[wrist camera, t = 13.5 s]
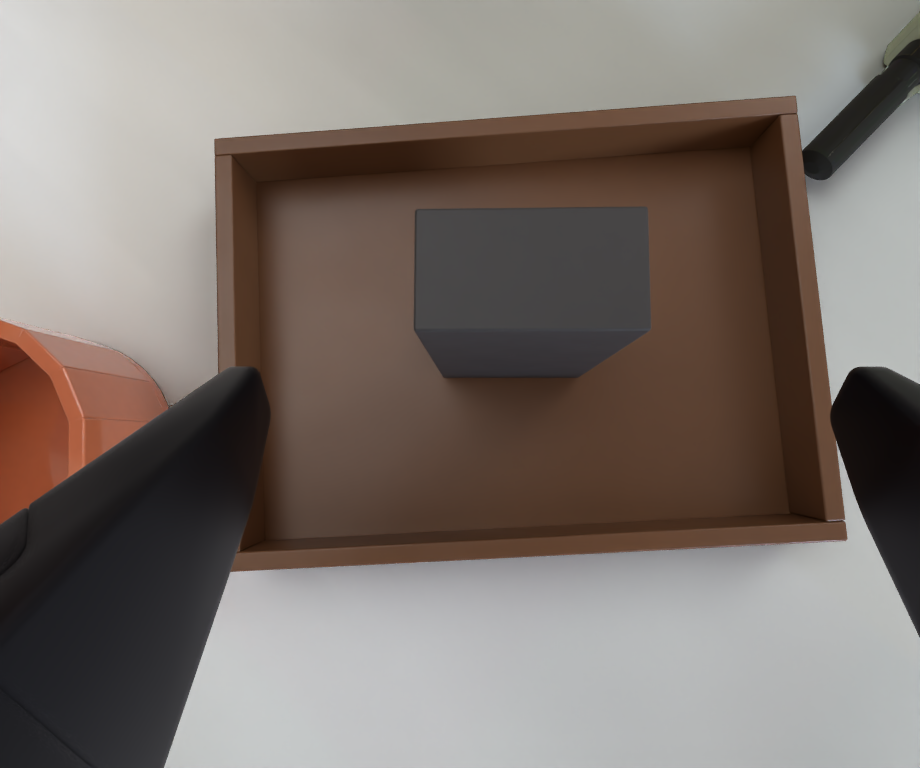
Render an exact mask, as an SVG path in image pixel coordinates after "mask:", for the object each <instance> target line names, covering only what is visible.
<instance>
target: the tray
mask: <svg viewBox="0 0 920 768" xmlns="http://www.w3.org/2000/svg"><path fill="white" fill-rule="evenodd" d="M215 199H216V258H217V318H218V374H219V373H221V372H222V371H224V370H225V369H227V368H228V367H234V366H252V367H255V368H256V369H258V371H259V373H260V375H261V378H262V381H263V385H264V388H265V391H266V395H267V398H268V401H269V404H270V410H271V420H270V425H269V430H268V435H267V440H266V444H265V449H264V454H263V459H262V464H261V469H260V473H259V478H258V483H257V488H256V492H255V497H254V501H253V505H252V508H251V511H250V514H249V518H248V521H247V524H246V527H245V530H244V533H243V535H242V538H241V541H240V544H239V547H238V550H237V553H236V556H235V559H234V562H233V565H232V568H231V571H230V572H235V571H255V570H275V569H295V568H315V567H335V566H355V565H375V564H395V563H415V562H435V561H455V560H475V559H495V558H515V557H535V556H555V555H575V554H595V553H615V552H635V551H655V550H675V549H695V548H715V547H735V546H755V545H775V544H795V543H815V542H835V541H846V540H847V531H846V523H845V522H844V521H843V520H845V514H844V506H843V497H842V489H841V480H840V472H839V463H838V455H837V446H836V438H835V435H834V432H833V429H832V426H831V422H830V412H831V408H832V404H831V395H830V386H829V378H828V369H827V361H826V352H825V344H824V335H823V327H822V318H821V310H820V301H819V293H818V284H817V276H816V267H815V259H814V250H813V241H812V233H811V224H810V216H809V207H808V199H807V190H806V182H805V173H804V165H803V156H802V148H801V139H800V131H799V122H798V115H797V103H796V96H786V97H772V98H759V99H745V100H732V101H718V102H705V103H691V104H678V105H664V106H651V107H638V108H624V109H611V110H597V111H584V112H570V113H557V114H543V115H530V116H516V117H503V118H490V119H476V120H463V121H449V122H436V123H422V124H409V125H395V126H382V127H368V128H355V129H341V130H328V131H315V132H301V133H288V134H274V135H261V136H247V137H234V138H220V139H215ZM640 206H645V207H647V208H648V225H649V263H650V300H651V330H650V331H649V332H647V333H646V334H644V335H643V336H641V337H639V338H638V339H636V340H635V341H633V342H632V343H630V344H629V345H627V346H626V347H624V348H623V349H621V350H620V351H618V352H617V353H615V354H614V355H612V356H610V357H609V358H607V359H606V360H604V361H603V362H601V363H600V364H598V365H597V366H595V367H594V368H592V369H591V370H589V371H588V372H586V373H584V374H583V375H581V376H580V377H578V378H444V377H443V376H442V374H441V373H440V371H439V369H438V368H437V366H436V365H435V363H434V361H433V360H432V358H431V357H430V355H429V353H428V352H427V350H426V349H425V347H424V345H423V344H422V342H421V341H420V339H419V337H418V336H417V334H416V333H415V331H414V249H415V211H416V209H457V208H549V207H640Z"/></svg>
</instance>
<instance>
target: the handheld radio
mask: <svg viewBox="0 0 920 768" xmlns="http://www.w3.org/2000/svg"><path fill="white" fill-rule="evenodd" d="M883 61H884V64H885V65H886V66H887V67H886V68H885V70H884V71H883V72H882V74H881V75H878V76H876V77H875V78H874V79H873V80H872V81H871V82H870V83H869V84H868V85H867V86H866V87H865V88H864V89H863V90H862V91H861V92H860V93H859V94H858V95H857V96H856V97H855V98H854V99H853V100H852V101H851V102H850V103H849V104H848V105H847V106H846V107H845V108H844V109H843V110H842V111H841V112H840V113H839V114H838V115H837V116H836V117H835V118H834V119H833V120H832V121H831V122H830V123H829V124H828V125H827V126H826V127H825V129H824V130H823V131H822V132H821V133H820V134H819V135H818V136H817V137H816V138H815V139H814V140H813V141H812V142H811V143H810V144H809V145H808V146H807V147H806V148H805V149H804V150H803V151H802V156H803V165H804V173H805V174H806V175H807V176H809V177H810V178H813V179H816V180H825V179H827V178H829V177H830V176H831V175H832V174H833V173H834V172H835V171H836V170H837V169H838V168H839V167H840V166H841V165H842V164H843V163H844V162H845V161H846V160H847V159H848V158H849V157H850V156H851V155H852V154H853V153H854V151H855V150H856V149H857V148H858V147H859V146H860V145H861V144H862V143H863V142H864V141H865V140H866V139H867V138H868V137H869V136H870V135H871V134H872V133H873V132H874V131H875V130H876V129H877V128H878V127H879V126H880V125H881V124H882V123H883V122H884V121H885V120H886V119H887V118H888V117H889V116H890V115H891V114H892V113H893V112H894V111H895V110H896V109H897V108H898V107H899V106H900V105H902V104H903V103H904V102H905V101H907V100H908V99H909V98H910V97H912V96H913V95H914V94H916V93H918V94H919V93H920V12H919V13H918V14H917V15H916V16H915V17H914V18H913V19H912V20H911V21H910V22H909V24H908V25H907V26H906V27H905V28H904V29H903V30H902V31H901V32H900V33H899V34H898V35H897V36H896V37H895V38H894V39H893V41H892V42H891V43H890V44H889V45H888V46H887V49H886V53H885V56H884V60H883Z"/></svg>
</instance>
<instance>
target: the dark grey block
mask: <svg viewBox="0 0 920 768" xmlns="http://www.w3.org/2000/svg"><path fill="white" fill-rule="evenodd" d="M650 330H651V300H650V263H649V225H648V208H647V207H645V206H640V207H549V208H457V209H416V211H415V249H414V331H415V333H416V334H417V336H418V337H419V339H420V341H421V342H422V344H423V345H424V347H425V349H426V350H427V352H428V353H429V355H430V357H431V358H432V360H433V361H434V363H435V365H436V366H437V368H438V369H439V371H440V373H441V374H442V376H443V377H444V378H578V377H580V376H581V375H583V374H584V373H586V372H588V371H589V370H591V369H592V368H594V367H595V366H597V365H598V364H600V363H601V362H603V361H604V360H606V359H607V358H609V357H610V356H612V355H614V354H615V353H617V352H618V351H620V350H621V349H623V348H624V347H626V346H627V345H629V344H630V343H632V342H633V341H635V340H636V339H638V338H639V337H641V336H643V335H644V334H646V333H647V332H649V331H650Z"/></svg>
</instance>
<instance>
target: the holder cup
mask: <svg viewBox="0 0 920 768" xmlns="http://www.w3.org/2000/svg"><path fill="white" fill-rule="evenodd" d="M167 409H169V408H168V405H167V402H166V400H165V398H164V396H163V394H162V392H161V390H160V389H159V387H158V386H157V385H156V383H155V382H154V380H153V379H152V378H151V377H150V375H149V374H148V373H147V372H146V371H145V370H144V369H143V368H142V367H141V366H140V365H138V364H137V363H136V362H135V361H133V360H132V359H131V358H129V357H127V356H126V355H124V354H122V353H121V352H119V351H116V350H114V349H112V348H110V347H107V346H104V345H100V344H96V343H93V342H91V341H88V340H85V339H82V338H79V337H75V336H71V335H67V334H63V333H59V332H55V331H51V330H47V329H43V328H40V327H36V326H32V325H28V324H24V323H20V322H16V321H12V320H8V319H4V318H0V524H1V523H3V522H4V521H6V520H7V519H9V518H10V517H12V516H13V515H15V514H16V513H17V512H19V511H20V510H22V509H24V508H27V509H29V505H30V504H31V503H32V502H34V501H35V500H36V499H38V498H39V497H41V496H42V495H44V494H45V493H47V492H48V491H50V490H51V489H52V488H54V487H55V486H57V485H58V484H60V483H61V482H63V481H64V480H65V479H67V478H68V477H70V476H71V475H73V474H74V473H76V472H77V471H79V470H80V469H81V468H83V467H84V466H86V465H87V464H89V463H90V462H92V461H93V460H95V459H96V458H97V457H99V456H100V455H102V454H103V453H105V452H106V451H108V450H109V449H111V448H112V447H113V446H115V445H116V444H118V443H119V442H121V441H122V440H124V439H125V438H126V437H128V436H129V435H131V434H132V433H134V432H135V431H137V430H138V429H140V428H141V427H142V426H144V425H145V424H147V423H148V422H150V421H151V420H153V419H154V418H156V417H157V416H158V415H160V414H161V413H163V412H164V411H166V410H167Z"/></svg>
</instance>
